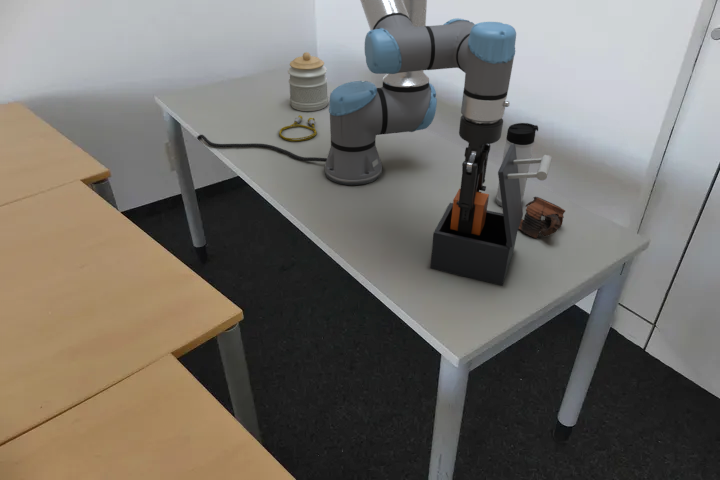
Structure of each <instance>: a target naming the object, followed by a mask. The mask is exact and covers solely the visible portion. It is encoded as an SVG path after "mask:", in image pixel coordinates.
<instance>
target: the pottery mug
mask: <svg viewBox="0 0 720 480" xmlns="http://www.w3.org/2000/svg"><path fill="white" fill-rule="evenodd" d="M524 206H525V211H526V212H525V213H524V217H523V218H522V219H521V222H520V225H519V229H518V230H520V231H521V232H523V233H524V234H526V235H528V236H529V237H532V238H534V239H538V236H539V234H541V235H542V236H543V237H550V236H551V235H554V234H555V233H557V232H558V230H559V228H561V227H562V226H563V221H564V218H565V216H564V214H565V213H566V210H565V209H564V208H562V207H560V206H558V205H557V204H555V203H552V202H550V201H547V200H546V199H544V198H542V197H538V196H534V197H533V199H532V200H531V201H529V202H527V203H526V204H525V205H524ZM543 217H544V219H542V218H543Z"/></svg>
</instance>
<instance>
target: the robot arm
mask: <svg viewBox="0 0 720 480" xmlns="http://www.w3.org/2000/svg"><path fill="white" fill-rule="evenodd" d="M359 1H360V3H361V8H362V10H363V13H364V15H365V16H364V17H365V18H366V21H367V24H368V27H369V31H368V32H367V33H366V35H365V37H364V56H365V63H366V67H367V68H368V70H369V71H370V72H371V74H372V73H373V74H375V75H384V76H383V78H382V86H381V87H377V86H376V84H375V83H374V82H371V81H368V80H365V81H362V80H353V81H349V82H345V83H343V84H340V85H338V86H337V87H335V88H334V89H333V90H332V91H331V93H330V94H329V103H328V105H329V106H328V112H329V126H330V127H329V129H330V130H329V131H330V146H329V150H328V154H327V157H316V156H315V157H313V156H312V157H311V156H310V157H308V156H307V157H306V156H300V155H297V154H295V153H294V152H291V151H289V150H286V149H283V148H281V147H278V146H275V145H273V144H272V145H271V144H266V143H257V142H256V143H215V142H211V141H210V140H209V139H208V138H207V137H206V136H205V135H204V134H199V135H198V136H197V137H196V139H197V140H201V139H202V140H203V142H204V143H206V144H207V145H208V146H211V147H214V148H264V149H270V150H274V151H277V152H279V153H282V154H284V155H286V156H289V157H291V158H293V159H295V160H298V161H302V162H323V163H324V162H325V165H324V174H325V176H326V177H327V179H328V180H330V181H332V182H334V183H337V184H339V185H346V186H362V185H367V184H369V183H372V182H374V181H377V180H378V179H379V178H380V177H381V176H382V174H383V164H382V161H381V157H380V154H379V151H378V149H377V146H376V145H377V144H376V136H380V135H389V134H398V133H399V134H400V133H414V132H416V131H421V130H426V129H428V128H429V127H430V126H431V124H432V123H433V122H434V118H435V117H436V111H437V103H438V99H437V97H436V96H437V92H436V91H437V90H436V88H435V86H434V85H433V84H432V83H430V78H429V76H427V74H426V73H425V72H424V71H434V70H435V71H436V70H445V69H446V70H447V69H459V70H460V71H462V72H464V73H465V74H464V86H463V87H464V88H463V91H462V92H463V93H462V98H461V99H462V100H461V108H460V113H461V116H460V120H459V130H458V135H459V137H460V138H461V139H462V140H463V141H465V142H467V143H468V145H467V146H466V147H465V149H464V160H463V162H462V164H461V167H462V170H461V180H460V188H459V189H460V197H459V201H457V203H456V204H457V205H458V207H460V214H459V222H458V230H457V232H460V233H465V234H469V235H471V233H472V226H473V219H474V212H475V204H474V202H475V197H476V192H480V193H482V192H486V190H487V186H486V185H483V184H485V183H486V173H487V167H488V160H489V154H490V151H491V144H495V143H497V142H499V140H501V138H502V132H503V126H504V117H505V110H506V108H508V107H510V101H509V100H507V98H508V92H509V89H510V82H511V76H512V71H513V65H514V59H515V56H516V41H517V40H516V39H517V31H516V29H515V27H514V26H512V25H510V24H509V23H503V22H500V21H499V22H498V21H482V22H478V23H477V22H476V23H474V22H473V21H470V20H468V19H464V18H459V17H457V18H452V19H449V20H448V21H446V22H445V23H443V24H437V25H427V11H428V9H427V8H428V0H359Z"/></svg>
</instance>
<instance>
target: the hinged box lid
mask: <svg viewBox="0 0 720 480" xmlns="http://www.w3.org/2000/svg"><path fill="white" fill-rule="evenodd" d="M502 160H503V159H502ZM552 162H553V157H552V156H551V155H549V154H544V155H543V156H542V157H538V158H531V159H520V160H517V155H516V146H515V144H510V146H509V149H508V151H507V153H506V155H505V158H504V160H503V162H502V161H501V165H500V167H499V168H498V171H497V177H498V185H500V192H501V200H502V206H501V207H502V208H501V209H502V213H503V216H504V223H505V231H506V239H507V247H513V244H514V241H515V238H516V239H517V236H516V235H518V232H519V230H520V229H519V225H520V222H521V219H523V216H524V211H523V201H521V192H520V183H519V178H527V179H534V178H536V179H537V180H539V181H545V180H546V179H547V178H548V175H549V172H550V168H551V165H552ZM517 164H530V165H533V164H539V165H538V169H537V172H528V173H518V165H517ZM515 242H516V241H515Z"/></svg>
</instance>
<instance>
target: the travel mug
mask: <svg viewBox="0 0 720 480" xmlns="http://www.w3.org/2000/svg"><path fill="white" fill-rule="evenodd" d="M536 132H539V126H538V125H537V124H532V123H528V122H519V123H518V122H517V123H513V124H511V125H509V126H508V128H507V131H506V137H505V142H504V149H503V155H502V161H501V163H502V162H503V160H504V158H505V155H506V153H507V151H508V149H509V146H510V144H515V146H516V155H517V160H520V159H532V154H533V151H534V145H535V137H536ZM517 165H518V173H529V170H530V165H531V164H517ZM527 180H528V178H519V183H520V192H521V201H522V202H523V201H524V195H525V191H526V186H527ZM495 202H496V204H497V205H498V206H500V207H502V200H501V192H500V185H499V184H498V185H497V191H496V197H495Z"/></svg>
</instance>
